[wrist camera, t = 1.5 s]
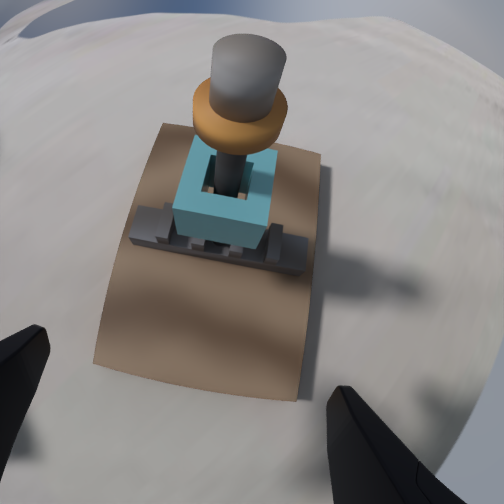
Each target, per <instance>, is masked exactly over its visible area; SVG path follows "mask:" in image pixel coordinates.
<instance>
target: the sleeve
mask: <svg viewBox="0 0 504 504" xmlns="http://www.w3.org/2000/svg"><path fill="white" fill-rule="evenodd" d="M216 153H217V150H215V149H213V148H211V147H209V146H208V145H206V144H205V143H204V142H203V141H202V140H201V139H200V138H199V137H198V135H195V136H194V139H193V142H192V145H191V148H190V151H189V154H188V157H187V160H186V164H185V167H184V170H183V173H182V176H181V180H180V183H179V186H178V190H177V193H176V196H175V200H174V203H173V207H172V210H173V215H174V220H175V225H176V230H177V234H179V235H184V236H189V237H194V238H199V239H205V240H210V241H215V242H220V243H225V244H231V245H236V246H241V247H246V248H251V249H256V248H257V246H258V244H259V242H260V240H261V238H262V236H263V234H264V231H265V229H266V227H267V223H268V217H269V210H270V203H271V196H272V188H273V181H274V174H275V167H276V160H277V153H278V151H277V150H272V149H268V148H267V149H265V150H263V151H261V152H258V153H254V154H249V155H247V158H246V163H245V167H244V171H243V176H242V180H241V184H240V189H239V193H244V194H245V199H244V200H243V199H238V198H233V197H227V196H222V195H217V194H212V193H208V189H209V187H213V188H214V176H215V164H216Z"/></svg>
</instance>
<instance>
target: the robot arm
mask: <svg viewBox="0 0 504 504" xmlns="http://www.w3.org/2000/svg"><path fill="white" fill-rule="evenodd" d="M49 354H50V343H49V340H48V336H47V331H46V329H45V328H44V327H41V326H39V325H36V324H34V325H31V326H29V327H27V328H25V329H23V330H21V331H19V332H17V333H15V334H13V335H11V336H9V337H7V338H5V339H3V340H1V341H0V481H1V478H2V475H3V472H4V469H5V466H6V463H7V460H8V458H9V455H10V452H11V449H12V447H13V444H14V442H15V439H16V437H17V434H18V432H19V429H20V427H21V424H22V422H23V420H24V417H25V415H26V413H27V410H28V408H29V406H30V404H31V401H32V399H33V397H34V395H35V392H36V390H37V387H38V384H39V382H40V379H41V376H42V373H43V370H44V368H45V365H46V362H47V360H48V357H49ZM326 416H327V452H328V460H329V468H330V476H331V484H332V493H333V501H334V504H466V503H465V502H464V501H463V500H461V499H460V498H459V497H458V496H457V495H455V494H454V493H453V492H452V491H450V490H449V489H448V488H447V487H446V486H445V485H444V484H443V483H441V482H440V481H439V480H438V479H437V478H436V477H435V476H434V475H433V474H432V473H431V472H430V471H429V470H428V469H427V468H426V467H425V466H424V465H423V464H422V463H421V462H420V461H418V459H417V457H416V456H415V455H414V454H413V453H412V452H411V451H410V450H409V449H408V448H407V447H406V446H405V445H404V444H403V442H402V441H401V440H400V439H399V438H398V437H397V436H396V435H395V434H394V433H393V432H392V431H391V429H390V428H389V427H388V426H387V425H386V424H385V423H384V422H383V421H382V420H381V419H380V418H379V416H378V415H377V414H376V413H375V412H374V411H373V410H372V409H371V408H370V407H369V406H368V404H367V403H366V402H365V401H364V400H363V399H362V398H361V397H360V396H359V395H358V393H357V392H356V391H355V390H354V389H353V388H352V387H351V386H341V385H340V386H337V387H336V389H335V390H334V392H333V394H332V395H331V397H330V399H329V400H328V402H327V406H326Z"/></svg>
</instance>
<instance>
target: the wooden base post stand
mask: <svg viewBox="0 0 504 504" xmlns="http://www.w3.org/2000/svg"><path fill="white" fill-rule="evenodd" d="M285 62H286V53H285V51H284V50H283V48H282V47H281V46H279V45H278V44H277V43H275V42H274V41H272V40H270V39H268V38H265V37H262V36H258V35H253V34H234V35H229V36H226V37H223V38H221V39H220V40H218V41H217V42H216V43H215V44H214V46H213V53H212V65H211V77H210V78H208V79H207V80H205V81H204V82H202V83H201V84H200V85H199V87H198V88H197V89H196V91H195V93H194V96H193V126H194V127H188V126H182V125H174V124H167V123H163V124H162V126H161V129H160V131H159V133H158V136H157V138H156V141H155V143H154V146H153V148H152V151H151V153H150V156H149V158H148V161H147V164H146V166H145V169H144V172H143V174H142V177H141V180H140V183H139V185H138V188H137V191H136V194H135V197H134V200H133V203H132V206H131V209H130V212H129V215H128V218H127V221H126V224H125V228H124V231H123V234H122V238H121V241H120V244H119V248H118V251H117V255H116V259H115V262H114V266H113V270H112V274H111V278H110V282H109V286H108V290H107V294H106V298H105V303H104V307H103V312H102V317H101V321H100V326H99V331H98V337H97V342H96V348H95V353H94V359H93V364H97V365H100V366H103V367H107V368H110V369H114V370H117V371H121V372H124V373H128V374H132V375H136V376H140V377H144V378H148V379H152V380H156V381H161V382H165V383H170V384H174V385H179V386H184V387H189V388H195V389H200V390H206V391H212V392H218V393H224V394H231V395H238V396H245V397H253V398H262V399H271V400H281V401H293V402H296V401H297V394H298V388H299V381H300V375H301V368H302V361H303V354H304V346H305V338H306V330H307V322H308V314H309V305H310V296H311V286H312V276H313V265H314V254H315V242H316V229H317V215H318V200H319V182H320V160H321V154H318V153H315V152H311V151H307V150H303V149H299V148H295V147H291V146H287V145H282V144H278V143H274V142H275V141H276V140H277V138H278V136H279V134H280V131H281V129H282V126H283V123H284V120H285V117H286V115H287V110H288V105H287V101H286V98H285V96H284V94H283V93H282V92H281V90H280V89H279V88H278V85H279V82H280V79H281V75H282V72H283V69H284V66H285ZM195 135H198V137H199V138H200V139H201V140H202V141H203V142H204V143H205V144H206V145H208V146H209V147H211V148H213V149H215V150H217V153H216V164H215V176H214V188H213V187H209V189H208V193H212V194H217V195H222V196H227V197H233V198H238V199H243V200H244V199H245V194H244V193H239V189H240V184H241V180H242V176H243V171H244V167H245V163H246V158H247V155H249V154H254V153H258V152H261V151H263V150H265V149H267V148H268V149H272V150H277V151H278V153H277V160H276V167H275V174H274V181H273V188H272V196H271V203H270V210H269V217H268V223H267V227H266V229H265V231H264V234H263V236H262V238H261V240H260V242H259V244H258V246H257V248H256V249H251V248H246V247H241V246H236V245H231V244H225V243H220V242H215V241H210V240H205V239H199V238H194V237H189V236H184V235H179V234H177V230H176V225H175V220H174V215H173V210H172V207H173V203H174V200H175V196H176V193H177V190H178V186H179V183H180V180H181V176H182V173H183V170H184V167H185V164H186V160H187V157H188V154H189V151H190V148H191V145H192V142H193V139H194V136H195Z"/></svg>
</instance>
